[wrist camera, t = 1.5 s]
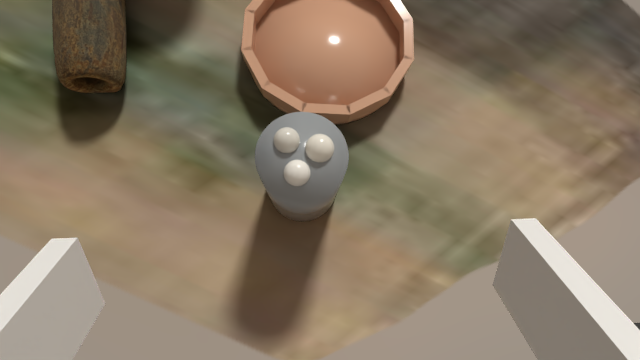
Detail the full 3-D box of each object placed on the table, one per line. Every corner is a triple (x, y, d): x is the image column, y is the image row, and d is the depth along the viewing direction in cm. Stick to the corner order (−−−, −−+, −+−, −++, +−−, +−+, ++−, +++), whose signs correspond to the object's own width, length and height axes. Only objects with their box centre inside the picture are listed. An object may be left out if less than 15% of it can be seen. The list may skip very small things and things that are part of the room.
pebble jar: (266, 219, 38) (248, 196, 26) (271, 153, 40) (256, 103, 28) (335, 222, 38) (349, 200, 26) (337, 156, 40) (351, 108, 28)
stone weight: (69, -12, 44) (28, -62, 37) (131, -21, 44) (102, -72, 38) (78, 105, 40) (34, 73, 34) (144, 94, 41) (114, 60, 34)
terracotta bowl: (240, 120, 40) (235, 108, 37) (253, -22, 45) (250, -42, 42) (407, 128, 41) (415, 117, 38) (404, -12, 45) (411, -32, 42)
